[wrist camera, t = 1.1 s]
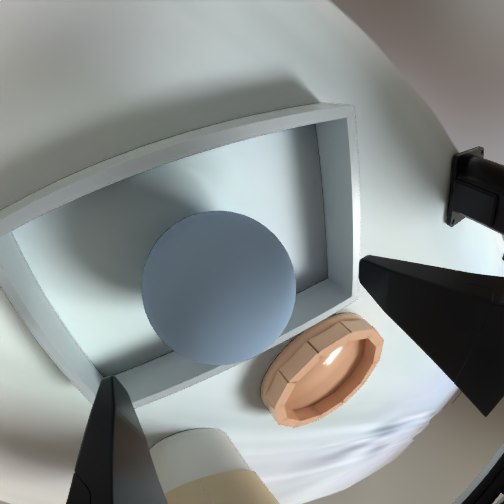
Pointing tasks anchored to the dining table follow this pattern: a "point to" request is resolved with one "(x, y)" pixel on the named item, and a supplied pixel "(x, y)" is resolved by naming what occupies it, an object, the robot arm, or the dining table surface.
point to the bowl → (321, 369)
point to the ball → (218, 288)
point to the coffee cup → (206, 470)
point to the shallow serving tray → (165, 151)
